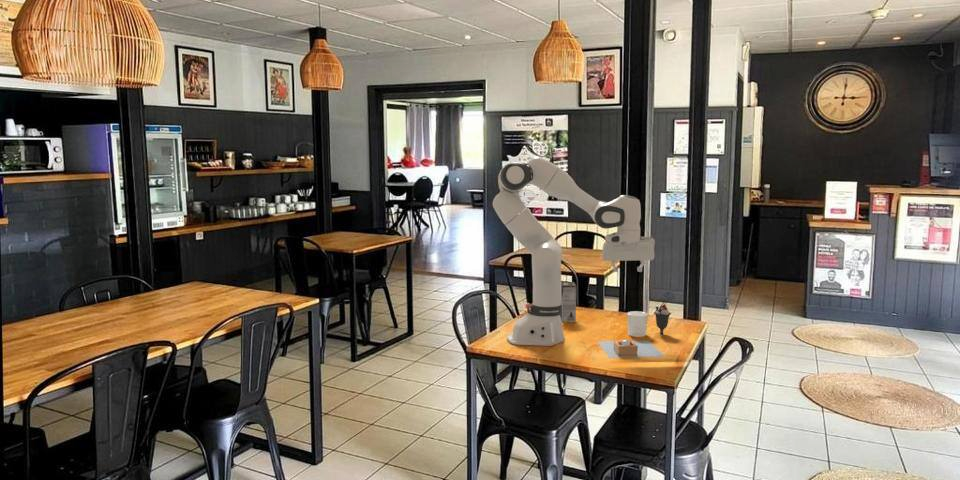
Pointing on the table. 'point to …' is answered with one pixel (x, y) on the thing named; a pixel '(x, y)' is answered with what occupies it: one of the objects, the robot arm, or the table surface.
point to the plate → (643, 351)
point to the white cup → (637, 323)
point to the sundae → (662, 317)
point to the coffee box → (568, 301)
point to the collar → (625, 349)
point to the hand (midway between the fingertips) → (627, 271)
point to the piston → (625, 342)
